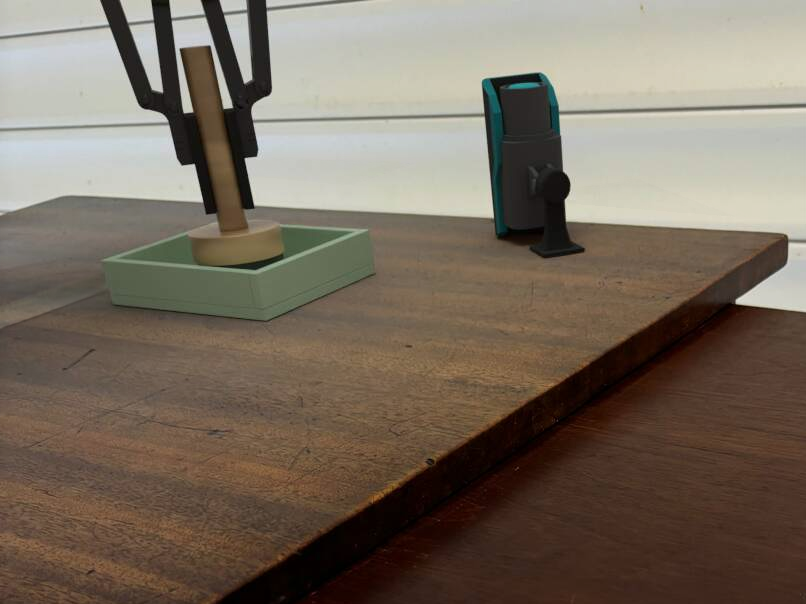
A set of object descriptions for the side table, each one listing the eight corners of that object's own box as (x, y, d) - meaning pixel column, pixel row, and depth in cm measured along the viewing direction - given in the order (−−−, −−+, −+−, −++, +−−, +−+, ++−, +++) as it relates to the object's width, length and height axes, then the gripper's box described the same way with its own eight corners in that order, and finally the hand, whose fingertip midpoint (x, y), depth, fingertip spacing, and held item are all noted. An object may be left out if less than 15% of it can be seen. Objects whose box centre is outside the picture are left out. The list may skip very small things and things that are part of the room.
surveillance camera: (519, 90, 88) (478, 78, 95) (532, 259, 95) (493, 236, 102) (588, 81, 89) (543, 71, 97) (596, 249, 96) (553, 227, 104)
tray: (112, 304, 91) (100, 260, 89) (229, 261, 101) (220, 220, 99) (266, 321, 85) (256, 273, 83) (375, 273, 94) (369, 229, 92)
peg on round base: (177, 272, 91) (124, 53, 83) (247, 253, 95) (202, 43, 87) (236, 278, 87) (185, 50, 79) (305, 258, 92) (264, 40, 83)
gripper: (17, -181, 71) (126, 231, 85) (269, -196, 74) (335, 204, 88) (26, -173, 77) (127, 212, 91) (259, -187, 80) (322, 187, 94)
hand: (229, 207), depth 89 cm, fingers closed on peg on round base, 2 cm apart
